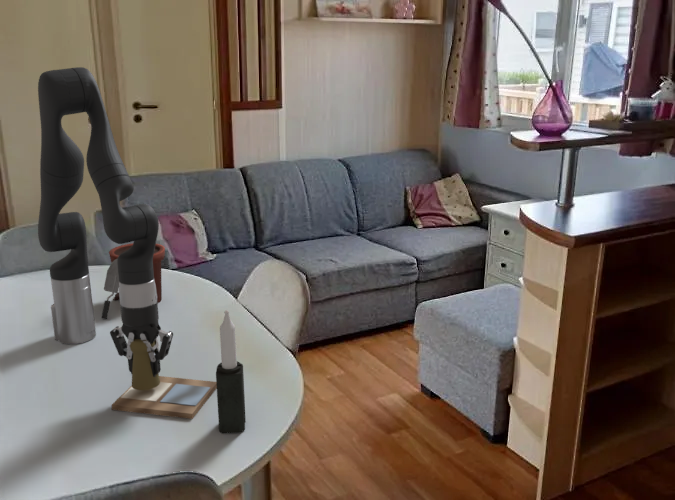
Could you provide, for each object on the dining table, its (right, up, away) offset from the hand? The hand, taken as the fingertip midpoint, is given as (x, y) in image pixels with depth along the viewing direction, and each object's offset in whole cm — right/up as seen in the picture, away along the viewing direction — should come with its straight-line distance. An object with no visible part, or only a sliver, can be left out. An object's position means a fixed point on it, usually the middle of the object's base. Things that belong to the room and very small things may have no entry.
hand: (145, 373), depth 147 cm
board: (+4, -5, +1) cm, 7 cm away
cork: (0, -2, +1) cm, 2 cm away
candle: (+20, -9, -10) cm, 25 cm away
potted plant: (-19, +11, +55) cm, 59 cm away
